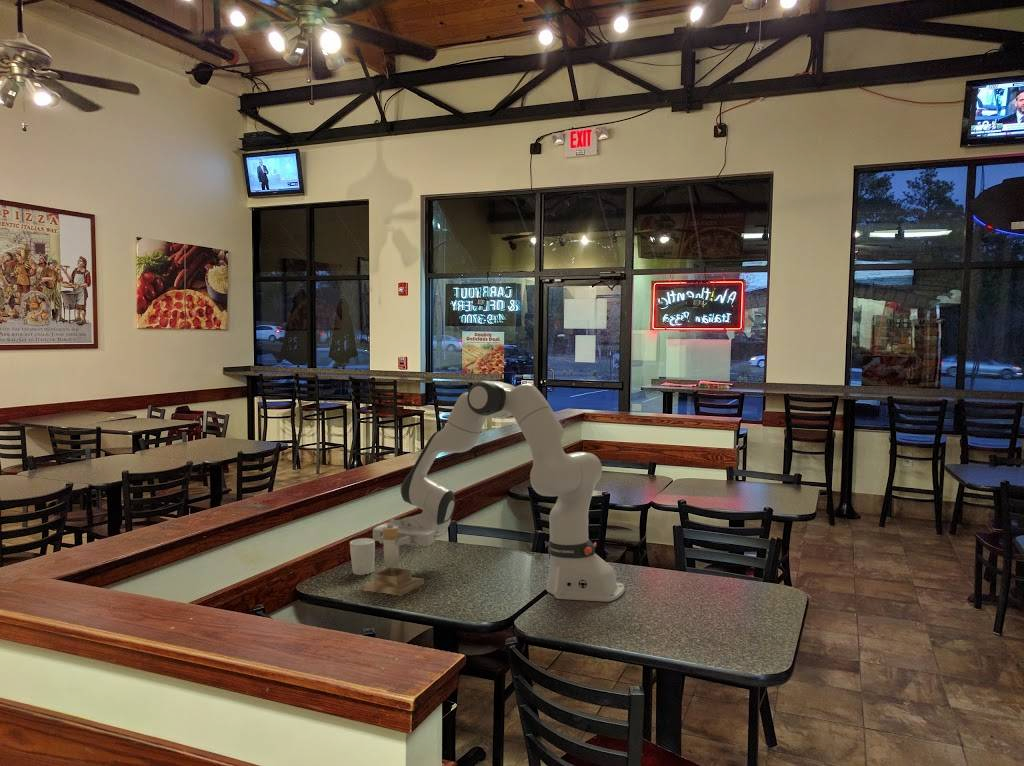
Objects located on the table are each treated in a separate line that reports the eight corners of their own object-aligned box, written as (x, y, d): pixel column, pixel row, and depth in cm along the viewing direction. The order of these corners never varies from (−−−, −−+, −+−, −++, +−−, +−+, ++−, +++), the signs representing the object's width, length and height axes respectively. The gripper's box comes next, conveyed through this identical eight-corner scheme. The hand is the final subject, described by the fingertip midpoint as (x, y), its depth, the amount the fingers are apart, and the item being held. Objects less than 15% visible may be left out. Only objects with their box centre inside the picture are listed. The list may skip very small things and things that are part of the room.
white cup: (348, 570, 230) (347, 540, 230) (372, 567, 234) (371, 536, 233) (354, 577, 223) (352, 546, 223) (378, 573, 226) (377, 542, 226)
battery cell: (402, 562, 213) (400, 523, 213) (393, 567, 209) (392, 527, 209) (390, 561, 215) (388, 522, 215) (381, 565, 211) (379, 525, 211)
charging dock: (424, 583, 215) (423, 568, 215) (401, 596, 204) (400, 581, 204) (386, 578, 221) (385, 564, 221) (361, 590, 210) (361, 575, 210)
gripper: (443, 543, 219) (419, 555, 207) (389, 537, 228) (362, 549, 216) (443, 523, 219) (418, 534, 206) (388, 518, 228) (361, 528, 215)
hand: (389, 541), depth 211 cm, fingers closed on battery cell, 4 cm apart
